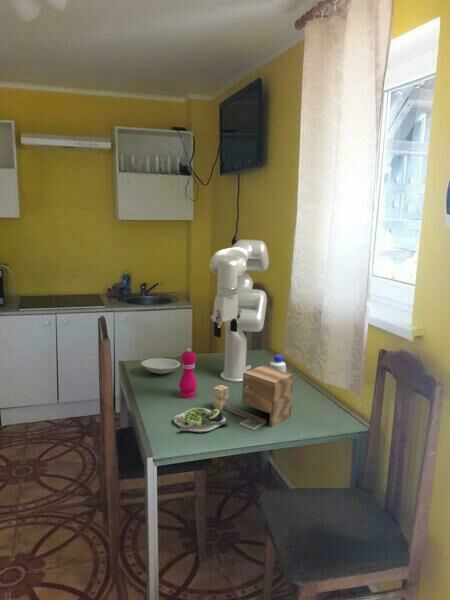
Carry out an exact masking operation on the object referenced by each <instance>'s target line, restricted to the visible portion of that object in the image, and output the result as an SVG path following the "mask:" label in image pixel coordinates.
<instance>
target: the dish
mask: <svg viewBox="0 0 450 600" xmlns="http://www.w3.org/2000/svg"><path fill="white" fill-rule="evenodd" d="M140 365H141V366H143V368H145V369H146V370H147V371H149V372H151V373H154V374H158V375H163V374H169V373H171V372H173V371H174V370H176V369H177V368H178V367H180V365H181V363H180V362H179V361H178V360H175V359H172V358H164V357H161V358H160V357H158V358H157V357H156V358H148V359H147V358H146V359H144V360H142V361H141V362H140Z"/></svg>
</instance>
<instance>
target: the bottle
mask: <svg viewBox="0 0 450 600" xmlns="http://www.w3.org/2000/svg"><path fill="white" fill-rule="evenodd" d="M283 360H284V356H283V355H281V354H276V355H275V356H274V357H273V361H270V364H269V367H270V368H273V369H277V370H280V371H284V372H287V366H286V365H287V364H286V362H285V361H283Z"/></svg>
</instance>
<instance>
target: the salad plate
mask: <svg viewBox="0 0 450 600" xmlns="http://www.w3.org/2000/svg"><path fill="white" fill-rule="evenodd" d="M184 419H186V420H187V424H186V423H183V421H184ZM230 422H231V421H230V420H227V418H226V417H225V416H224V415H223V413H222V410H220V409H218V408H214V409H212V410H211V409H208V408H206V407H193V408H191V409H187V410H186V411H183V412H182V413H180V414H177V415H175V416H174V418H173V423H174V424H175V425H176V426H178V428H179V430H180V431H182V432H183V431H184V432H185V431H186V432H192V433H193V432H194V433H207V432H211V431H213V430H216V429H218V428H220V427H222V426H224V425H226V424H227V425H228V424H230Z"/></svg>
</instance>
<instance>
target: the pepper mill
mask: <svg viewBox="0 0 450 600" xmlns="http://www.w3.org/2000/svg"><path fill="white" fill-rule="evenodd" d="M180 360H181V363H182V366H181V367H182V369H183V372H182V375H181V378H180V380H179V382H178V383H179V384H178V387H179V389H180V390H179V396H180V397H181V398H183V399H192V398H195V397H196V389H197V387H198V384H197V383H198V382H197V379H196V377H195V374H194V369H195V367H196V366H195V365H196V364H195V363H196V361H197V355H196V354H195V352H194V351H192V348H190V347H188V348H186V351H184V352H183V353H181V356H180Z"/></svg>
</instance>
